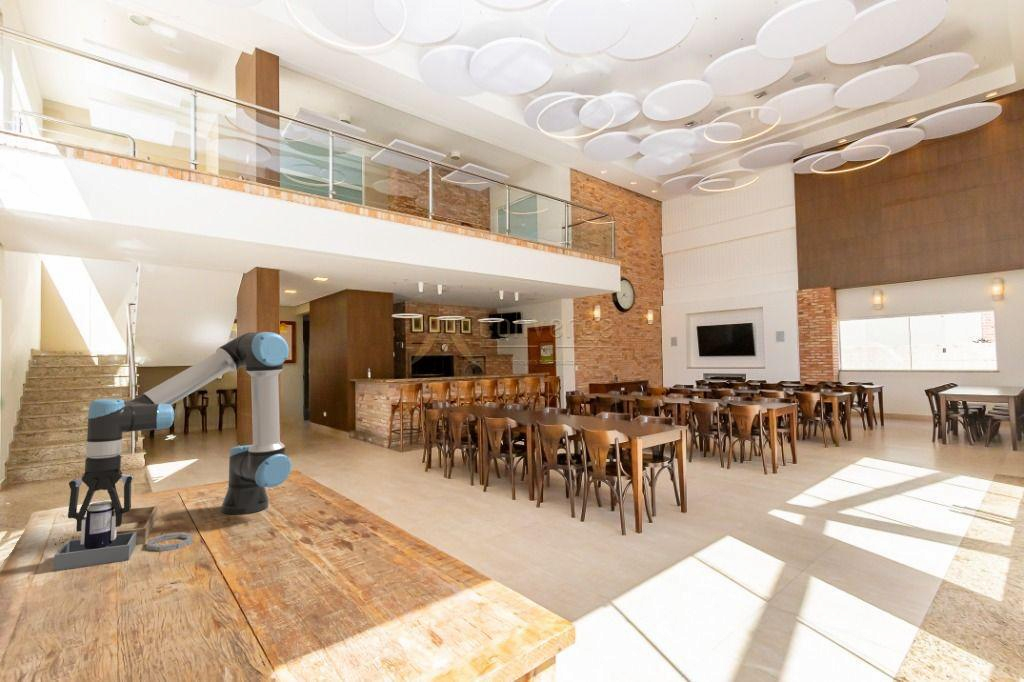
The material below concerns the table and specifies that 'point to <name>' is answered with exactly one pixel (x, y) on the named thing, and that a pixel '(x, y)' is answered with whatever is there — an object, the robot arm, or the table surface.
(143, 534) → the parts crate
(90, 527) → the beverage can
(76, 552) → the bus tray
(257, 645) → the table surface
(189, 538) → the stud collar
